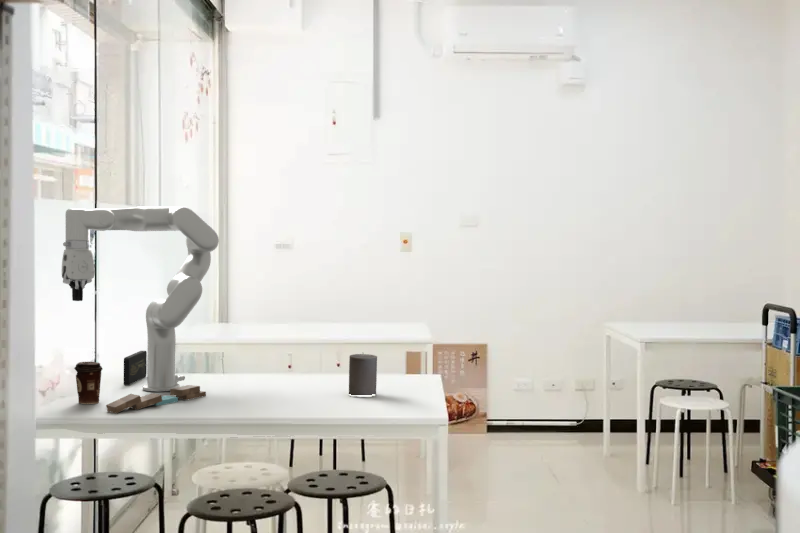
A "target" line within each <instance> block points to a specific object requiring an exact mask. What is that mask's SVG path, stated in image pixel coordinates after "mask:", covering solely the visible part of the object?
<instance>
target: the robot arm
mask: <svg viewBox="0 0 800 533" xmlns="http://www.w3.org/2000/svg"><path fill="white" fill-rule="evenodd" d="M90 230H92V231H96V232H97V231H98V232H99V231H100V232H105V231H129V232H173V231H174V232H176V231H177V232H178V231H179V232H181V233H182V234H183V235H184V236H185V244H186V247H187V257H186V258H185V261H184V262H183V264H182V265H181V267H180V268H179V269H178V271H177V272H176V274H174V276H173V277H172V278H171V279H170V281H169V282H168V283H167V286H166V293H167V298H166V299H164V298H159V299H155V300H152V301H151V302H150V304H148V306H147V308H146V310H145V322H146V329H147V330H146V331H147V332H146V333H147V370H146V378H147V379H146V380H147V383H146V384H144V385H143V386H142V390H143V391H146V392H153V393H154V392H155V393H157V392H158V393H159V392H160V393H161V392H170V389H172V388H177V387H181V386H180V384H179V383H178V382H182V381H185V379H186V376H185V375H184V374H181V375H178V374H176V345H177V344H176V343H177V342H176V340H177V339H176V330H175V328H178V327H179V326H180V325H181V324H182V323H183V322H184V321H185V320H186V318H187V317H188V316H189V314H190V313H191V312H192V310H193V309H194V308H195V306H196V305H197V303H199V300H201V297H202V294H203V286H202V283H201V282H202V280H203V279H204V277H205V276H206V274H207V273H208V271H209V269H210V266H211V260H212V255H211V252H213V251H215V250H216V249H217V247H218V245H219V242H220V239H219V236H218V234H217V232H216V231H215V230H214V228H212V227H211V226H210V225H209V223H208V224H207V222H206V221H204V219H202V218H201V217H200V216H199V215H198V214H197V213H196V212H194V211H193V210H192V209H191V208H189V207H187V206H136V207H128V208H102V207H101V208H93V209H86V208H77V207H76V208H68V209H66V211H65V242H64V241H63V243H62V245H63V246H64V248H65V249H64V250H63V252H62V253H63V254H62V260H61V277H62V279H63V280H62V284H66V285H68V286H69V287H70V289H71V298H72V299H71V300H72V301H74V302H82V301H83V300H84V299H83V296H84V289H85V288H86V287H85V286H86V285H87V284H90V283H92V282H93V279H95V260H94V256H93V254H94V253H93V251H92V250H93V249H90Z"/></svg>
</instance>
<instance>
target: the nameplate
mask: <svg viewBox="0 0 800 533" xmlns="http://www.w3.org/2000/svg"><path fill="white" fill-rule="evenodd" d="M147 360H148V351H147V350H140V351H137V352H135V353H132V354H130V355H128V356H125V357H124V358H123V385H124V386H131V385H132V384H134V383H136V382H139V381H140V380H142V379H144V378H145V377H146V378H147Z"/></svg>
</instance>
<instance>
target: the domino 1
mask: <svg viewBox="0 0 800 533" xmlns="http://www.w3.org/2000/svg"><path fill="white" fill-rule="evenodd" d="M162 396H163V395H161V394H158V393H156V392H155V393H154V392H152V393H149V394H146V395H143V396H140V398H141V402H140V403H137V404H135V405H133V406H131V407H129V409H133V410H136V411H138V410H141V409H143V408H147V407H150V406H154V405H153V404H156V403H159V402H162Z"/></svg>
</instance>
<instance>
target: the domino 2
mask: <svg viewBox="0 0 800 533" xmlns="http://www.w3.org/2000/svg"><path fill="white" fill-rule="evenodd" d="M161 396H162V402H159V403H156V404H153V405H152V406H155V407H157V406H162V405H167V404H173V403H178V400H179V399H178V397H176V396H174V395H161Z"/></svg>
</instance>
